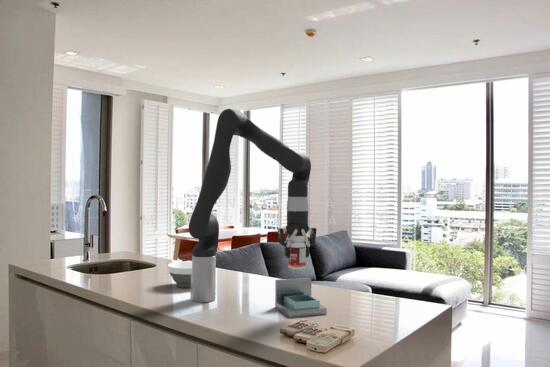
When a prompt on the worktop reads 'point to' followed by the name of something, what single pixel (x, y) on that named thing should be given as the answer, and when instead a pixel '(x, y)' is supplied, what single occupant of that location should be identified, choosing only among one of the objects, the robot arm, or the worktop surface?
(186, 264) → the bowl
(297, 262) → the pill bottle
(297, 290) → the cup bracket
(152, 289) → the worktop surface
